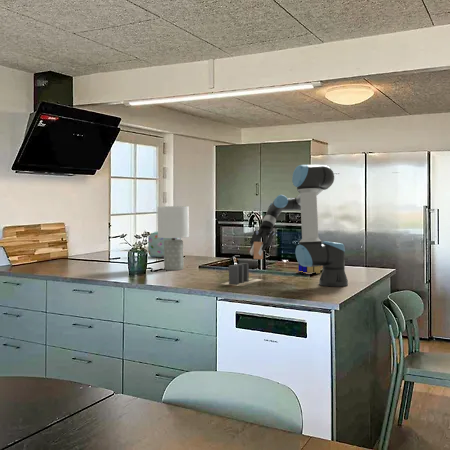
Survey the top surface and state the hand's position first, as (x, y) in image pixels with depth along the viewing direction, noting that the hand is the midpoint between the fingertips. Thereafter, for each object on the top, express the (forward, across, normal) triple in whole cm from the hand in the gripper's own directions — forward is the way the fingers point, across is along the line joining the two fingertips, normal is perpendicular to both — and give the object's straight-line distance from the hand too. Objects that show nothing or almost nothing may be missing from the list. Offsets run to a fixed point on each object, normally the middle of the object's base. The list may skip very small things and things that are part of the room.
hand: (255, 254), depth 305 cm
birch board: (+21, 0, +1) cm, 21 cm away
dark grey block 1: (+27, 0, +8) cm, 28 cm away
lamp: (+3, +67, -18) cm, 69 cm away
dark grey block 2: (+19, 0, 0) cm, 19 cm away
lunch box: (-33, +115, -55) cm, 131 cm away
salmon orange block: (0, 0, -5) cm, 5 cm away
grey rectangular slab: (+23, 0, +4) cm, 24 cm away
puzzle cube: (-16, -18, -37) cm, 44 cm away
